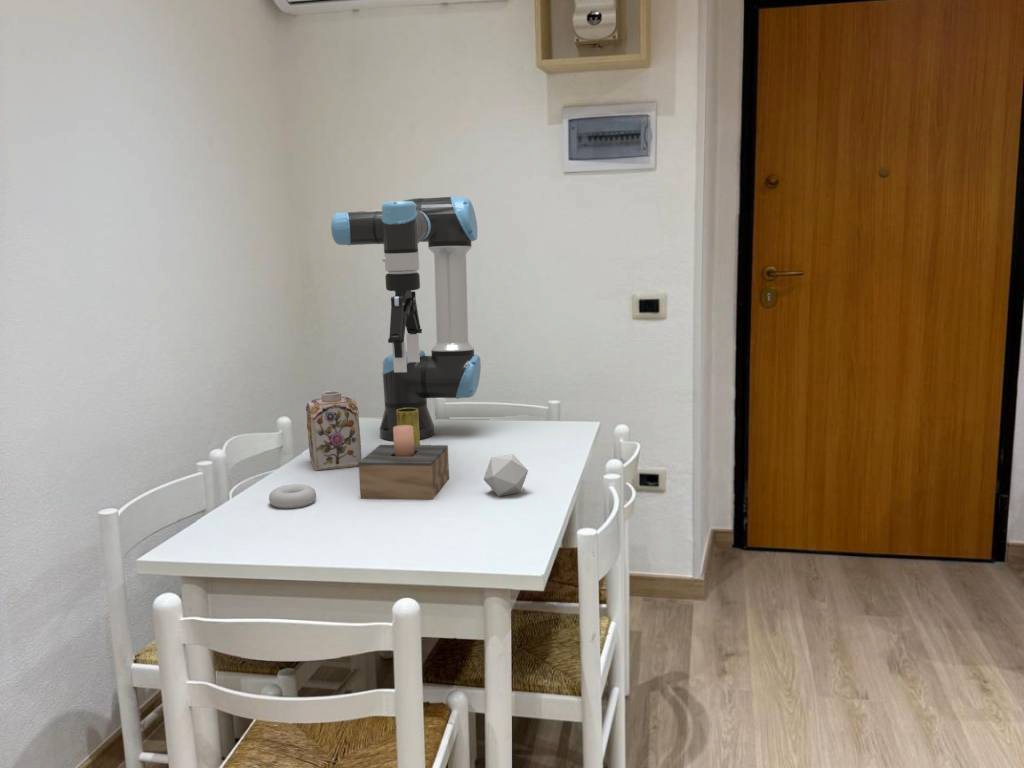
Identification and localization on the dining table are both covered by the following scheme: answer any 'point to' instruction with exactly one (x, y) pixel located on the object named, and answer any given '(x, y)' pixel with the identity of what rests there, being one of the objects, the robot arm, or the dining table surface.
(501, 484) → the die
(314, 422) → the decorative jar
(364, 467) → the socket block
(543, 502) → the dining table surface
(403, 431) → the peg
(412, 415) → the vase
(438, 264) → the robot arm
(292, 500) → the donut
